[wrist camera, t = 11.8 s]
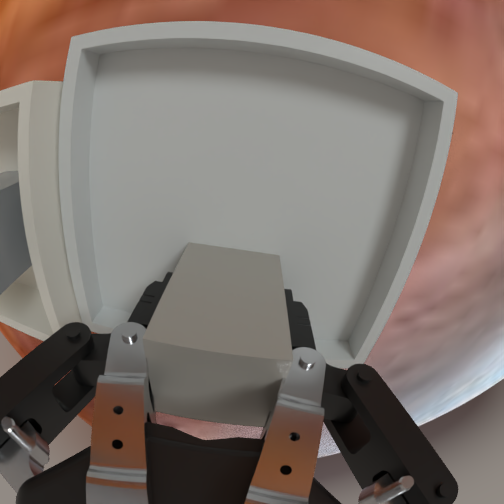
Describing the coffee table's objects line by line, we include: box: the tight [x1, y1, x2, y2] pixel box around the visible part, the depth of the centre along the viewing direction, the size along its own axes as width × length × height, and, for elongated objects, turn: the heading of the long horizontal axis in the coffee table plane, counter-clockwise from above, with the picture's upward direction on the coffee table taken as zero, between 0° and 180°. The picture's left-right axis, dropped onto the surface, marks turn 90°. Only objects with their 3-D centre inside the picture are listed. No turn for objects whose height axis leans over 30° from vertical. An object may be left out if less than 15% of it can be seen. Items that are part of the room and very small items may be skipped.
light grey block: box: [142, 242, 293, 427], centre depth 10 cm, size 4×4×6 cm
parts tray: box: [58, 21, 458, 368], centre depth 11 cm, size 15×14×2 cm
